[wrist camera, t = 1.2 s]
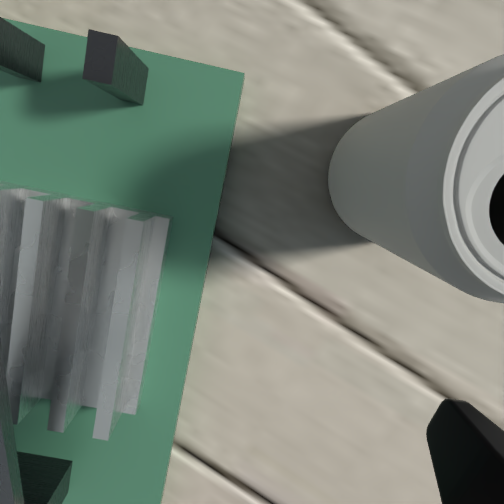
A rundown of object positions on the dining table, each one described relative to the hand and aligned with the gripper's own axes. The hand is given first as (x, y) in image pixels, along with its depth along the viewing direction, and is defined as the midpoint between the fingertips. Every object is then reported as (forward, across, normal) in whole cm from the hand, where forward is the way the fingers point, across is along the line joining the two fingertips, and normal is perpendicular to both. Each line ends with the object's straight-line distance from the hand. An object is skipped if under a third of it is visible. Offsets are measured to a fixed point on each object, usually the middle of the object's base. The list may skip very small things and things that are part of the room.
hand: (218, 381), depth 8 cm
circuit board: (+13, +7, +8) cm, 17 cm away
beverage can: (+14, -8, -1) cm, 16 cm away
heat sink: (+12, +7, +7) cm, 16 cm away
